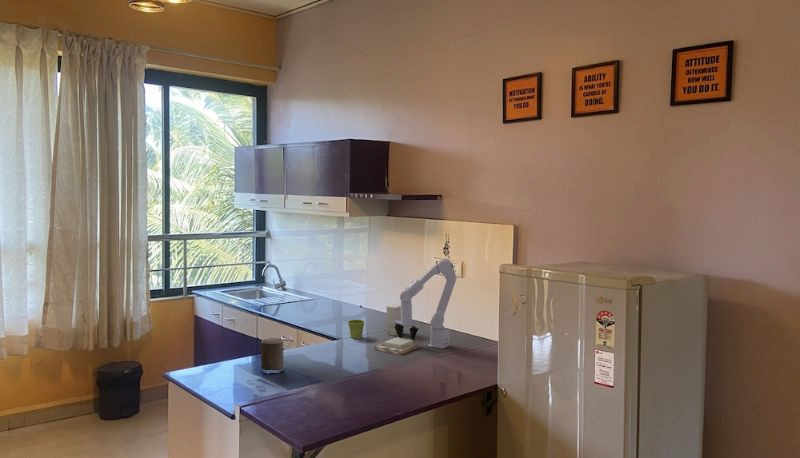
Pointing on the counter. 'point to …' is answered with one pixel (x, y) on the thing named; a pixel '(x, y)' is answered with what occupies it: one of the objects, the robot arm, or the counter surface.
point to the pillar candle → (272, 354)
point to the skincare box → (393, 318)
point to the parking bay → (396, 351)
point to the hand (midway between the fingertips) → (406, 340)
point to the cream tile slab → (398, 343)
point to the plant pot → (356, 328)
